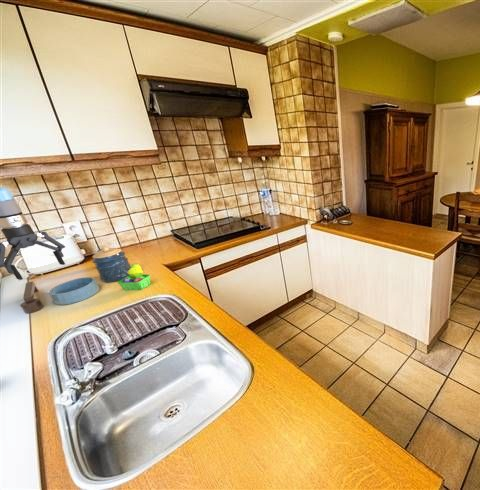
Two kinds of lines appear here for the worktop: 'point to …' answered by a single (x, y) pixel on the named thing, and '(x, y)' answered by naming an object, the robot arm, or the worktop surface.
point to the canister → (111, 264)
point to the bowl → (74, 291)
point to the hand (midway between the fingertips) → (42, 271)
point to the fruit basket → (135, 279)
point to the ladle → (31, 299)
